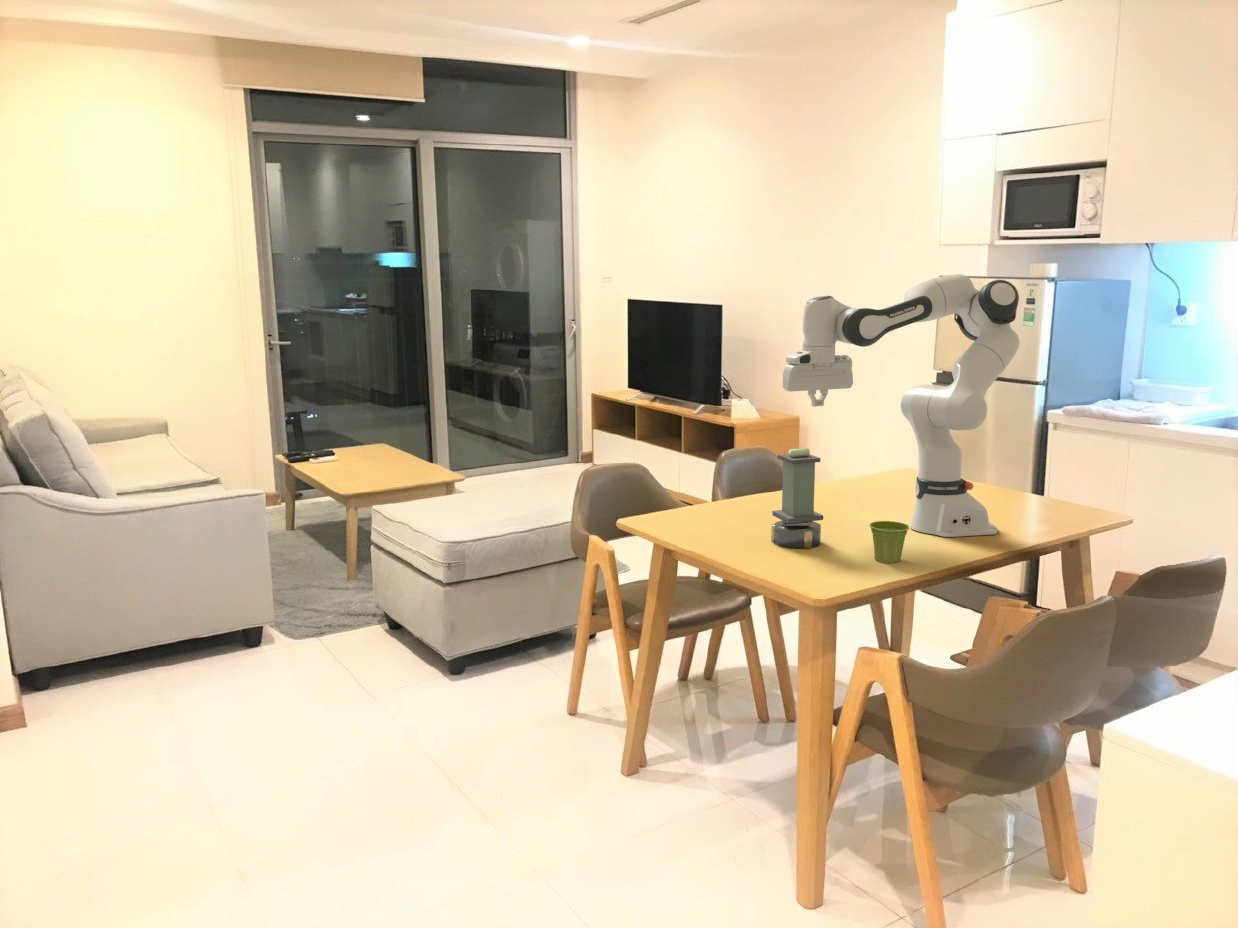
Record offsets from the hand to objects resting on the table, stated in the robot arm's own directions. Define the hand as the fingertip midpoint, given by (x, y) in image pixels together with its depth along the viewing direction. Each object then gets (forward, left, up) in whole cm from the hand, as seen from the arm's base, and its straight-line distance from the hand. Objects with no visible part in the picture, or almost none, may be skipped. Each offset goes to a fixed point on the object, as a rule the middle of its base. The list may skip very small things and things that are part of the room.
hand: (817, 406), depth 275 cm
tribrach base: (+8, +22, -33) cm, 41 cm away
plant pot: (-12, +38, -33) cm, 52 cm away
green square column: (+8, +22, -27) cm, 36 cm away
